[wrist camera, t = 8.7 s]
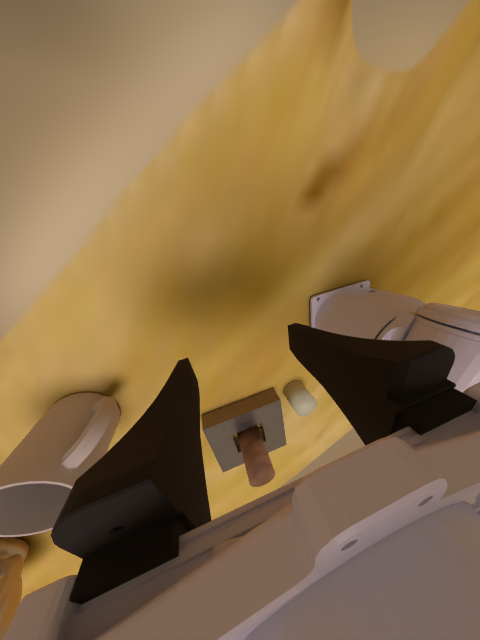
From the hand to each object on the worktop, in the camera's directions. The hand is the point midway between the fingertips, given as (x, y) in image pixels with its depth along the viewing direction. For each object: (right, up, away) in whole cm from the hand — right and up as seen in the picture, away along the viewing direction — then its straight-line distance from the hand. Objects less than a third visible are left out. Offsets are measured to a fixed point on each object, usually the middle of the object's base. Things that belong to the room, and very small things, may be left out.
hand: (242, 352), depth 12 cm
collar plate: (+1, -16, +18) cm, 24 cm away
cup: (-18, -8, +10) cm, 22 cm away
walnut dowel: (+1, -16, +18) cm, 24 cm away
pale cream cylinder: (+9, -10, +18) cm, 22 cm away
